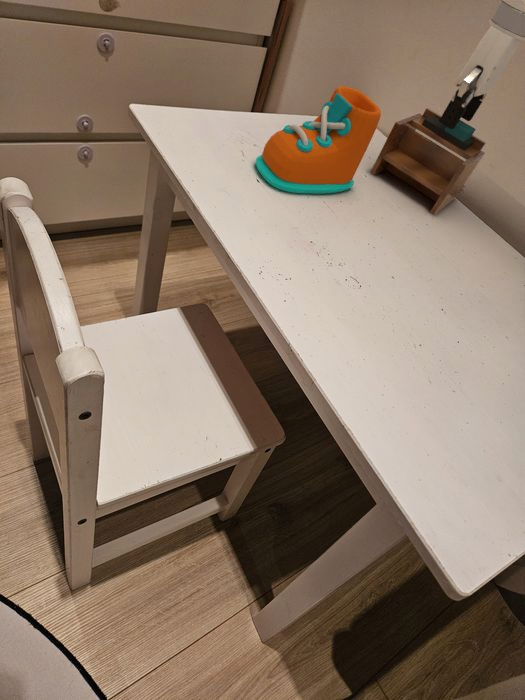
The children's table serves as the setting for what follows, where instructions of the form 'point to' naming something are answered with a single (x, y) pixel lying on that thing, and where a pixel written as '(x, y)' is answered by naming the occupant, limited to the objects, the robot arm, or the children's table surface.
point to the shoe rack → (427, 160)
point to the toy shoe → (322, 146)
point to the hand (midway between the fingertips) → (454, 121)
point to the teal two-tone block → (451, 132)
